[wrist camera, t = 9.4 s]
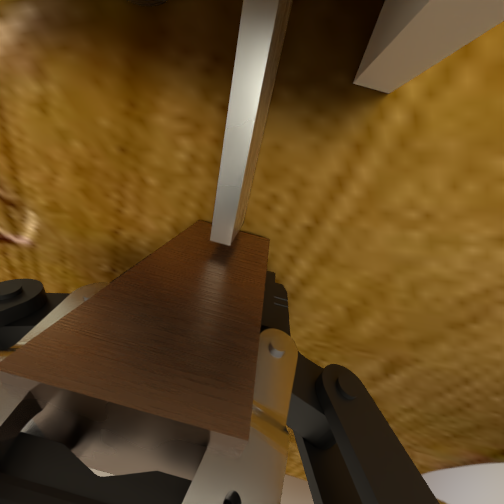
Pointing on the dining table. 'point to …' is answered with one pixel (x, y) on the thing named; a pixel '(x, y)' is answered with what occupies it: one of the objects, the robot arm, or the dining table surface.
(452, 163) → the dining table surface
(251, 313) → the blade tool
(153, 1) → the token
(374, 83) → the plinth shelf
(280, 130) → the dining table surface
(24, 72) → the dining table surface
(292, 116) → the dining table surface
